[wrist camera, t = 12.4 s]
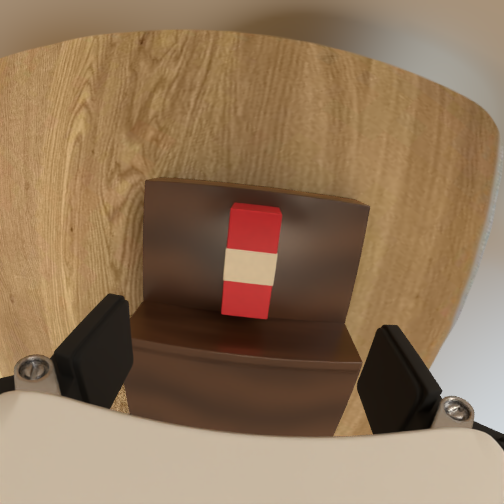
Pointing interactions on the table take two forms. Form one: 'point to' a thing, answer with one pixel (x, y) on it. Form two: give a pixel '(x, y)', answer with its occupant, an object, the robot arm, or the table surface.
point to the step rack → (243, 328)
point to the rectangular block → (250, 260)
